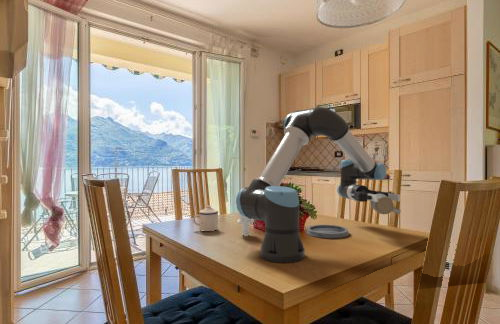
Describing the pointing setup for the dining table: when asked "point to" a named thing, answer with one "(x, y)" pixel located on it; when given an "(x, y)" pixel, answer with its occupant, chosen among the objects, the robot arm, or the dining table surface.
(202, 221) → the teacup with lid
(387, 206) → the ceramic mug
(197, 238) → the dining table surface
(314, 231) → the saucer
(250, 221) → the strainer
